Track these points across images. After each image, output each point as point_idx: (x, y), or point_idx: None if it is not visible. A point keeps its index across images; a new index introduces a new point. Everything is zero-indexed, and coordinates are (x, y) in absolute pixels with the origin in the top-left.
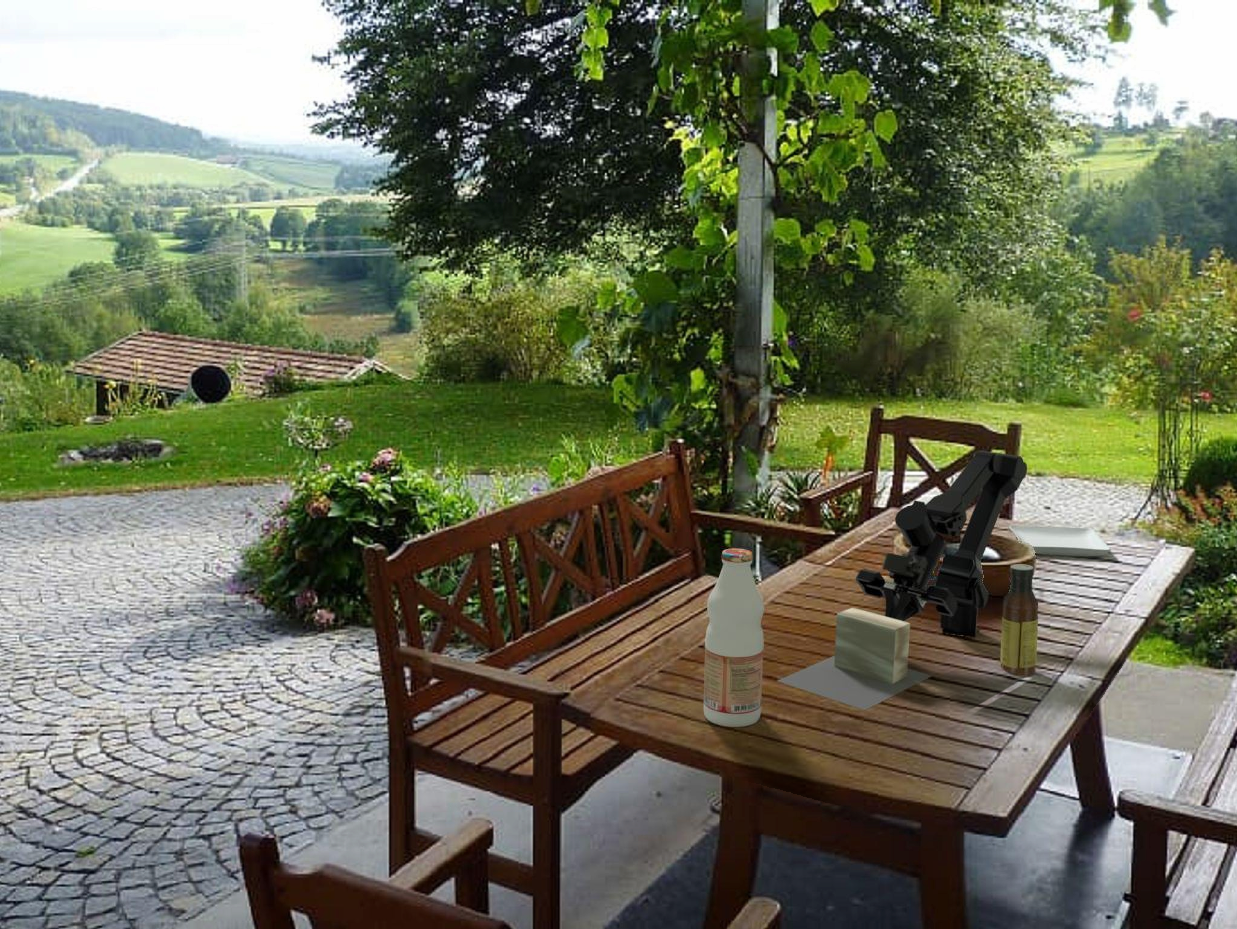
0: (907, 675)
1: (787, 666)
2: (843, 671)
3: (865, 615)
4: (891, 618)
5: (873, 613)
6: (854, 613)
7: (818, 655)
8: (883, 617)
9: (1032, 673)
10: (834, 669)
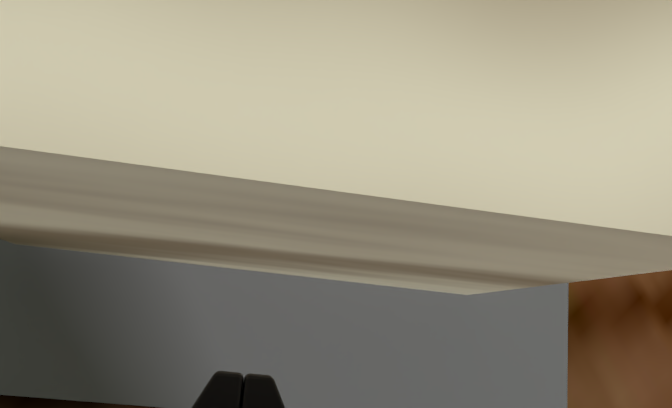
0: (17, 263)
1: None
2: None
3: (460, 20)
4: (26, 125)
5: (415, 195)
6: (624, 10)
7: (649, 283)
8: (177, 93)
9: None
10: None
